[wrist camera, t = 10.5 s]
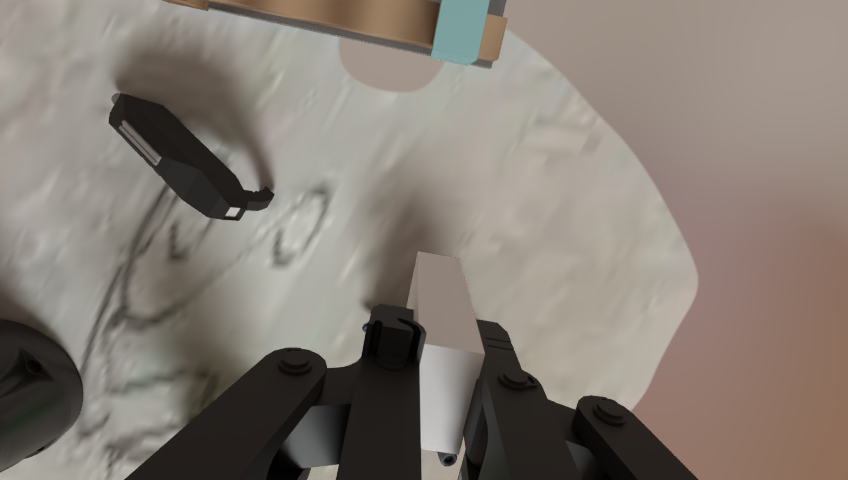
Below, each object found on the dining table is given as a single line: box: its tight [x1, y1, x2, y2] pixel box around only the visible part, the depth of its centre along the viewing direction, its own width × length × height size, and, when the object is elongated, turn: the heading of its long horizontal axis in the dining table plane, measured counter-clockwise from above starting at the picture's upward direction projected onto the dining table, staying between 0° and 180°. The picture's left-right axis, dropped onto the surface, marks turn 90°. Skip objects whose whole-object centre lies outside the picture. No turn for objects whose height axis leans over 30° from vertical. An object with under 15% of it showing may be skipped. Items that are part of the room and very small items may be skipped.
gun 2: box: [109, 93, 275, 221], centre depth 41 cm, size 3×16×10 cm, turn 54°
